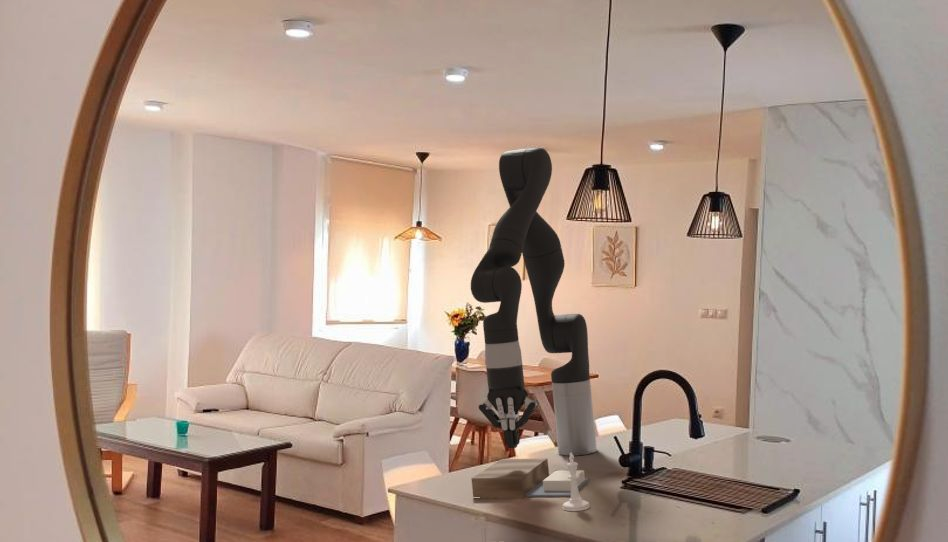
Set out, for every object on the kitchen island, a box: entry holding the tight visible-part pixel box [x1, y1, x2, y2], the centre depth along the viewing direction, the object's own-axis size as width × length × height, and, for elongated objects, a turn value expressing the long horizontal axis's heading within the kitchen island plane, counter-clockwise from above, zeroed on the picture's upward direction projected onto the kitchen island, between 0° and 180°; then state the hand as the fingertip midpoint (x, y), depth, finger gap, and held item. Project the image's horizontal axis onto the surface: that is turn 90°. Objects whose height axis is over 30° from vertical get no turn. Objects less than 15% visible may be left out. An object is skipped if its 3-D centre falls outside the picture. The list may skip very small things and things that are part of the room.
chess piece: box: [562, 453, 591, 512], centre depth 165 cm, size 5×5×10 cm
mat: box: [524, 477, 590, 498], centre depth 181 cm, size 14×10×1 cm
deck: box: [471, 457, 550, 499], centre depth 186 cm, size 18×10×4 cm, turn 159°
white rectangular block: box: [543, 469, 586, 491], centre depth 181 cm, size 9×6×2 cm, turn 158°
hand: (512, 447), depth 186 cm, fingers closed
